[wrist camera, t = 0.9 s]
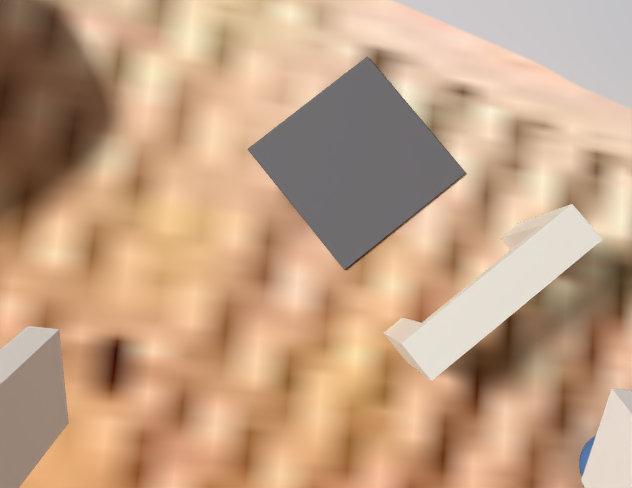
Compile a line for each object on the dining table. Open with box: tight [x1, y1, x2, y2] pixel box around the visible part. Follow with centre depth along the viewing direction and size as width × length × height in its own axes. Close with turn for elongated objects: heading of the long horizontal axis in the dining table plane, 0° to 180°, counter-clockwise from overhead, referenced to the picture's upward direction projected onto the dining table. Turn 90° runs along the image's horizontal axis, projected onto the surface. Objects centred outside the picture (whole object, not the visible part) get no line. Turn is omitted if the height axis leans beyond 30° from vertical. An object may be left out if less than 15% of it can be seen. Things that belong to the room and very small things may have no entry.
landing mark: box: [248, 57, 465, 270], centre depth 44 cm, size 13×13×1 cm
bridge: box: [384, 204, 603, 381], centre depth 38 cm, size 3×14×9 cm, turn 129°
